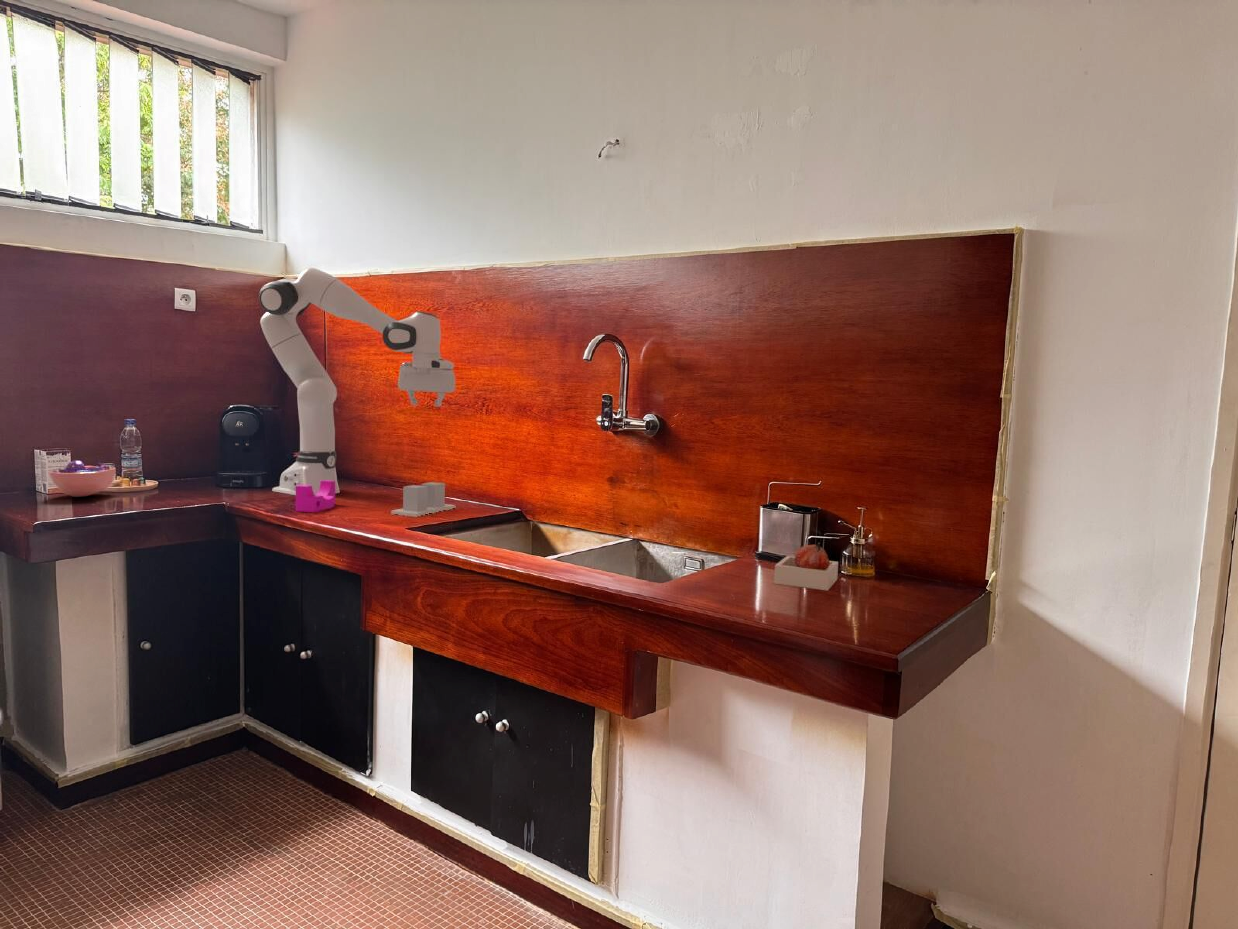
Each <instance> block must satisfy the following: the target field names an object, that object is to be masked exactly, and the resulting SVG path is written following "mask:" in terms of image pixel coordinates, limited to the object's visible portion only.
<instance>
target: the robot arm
mask: <svg viewBox="0 0 1238 929" xmlns="http://www.w3.org/2000/svg"><path fill="white" fill-rule="evenodd" d="M258 302H259V304H260V306H261V308H262V309H263V310H264V311H265V313H264V314H263V315H262V316H261V317H260V321H259V322H260V327H261V329H262V333H263V335H264V338H265V339H266V341H267V343H268V345H269V347H270V349H271V351H272V353H273V354H274V355H275V357H276V359H277V361H278V362H279V364H280V366H281V368H282V369H283V371H284V372H285V373H286V374H287V376H288V377H289V378H290V380H291V381H292V383H293V384H294V386H295V387H296V388H297V392H296V394H297V395H296V397H297V399H296V400H297V409H298V410H297V411H298V421H299V451H298V452H294V453H293V454H295V455H293V457H296V458H295V462H293V463H292V465H290V466H289V467H288V468H287V469H285V470H284V471H282V473H281V475H280V478H279V486H275V487H272V490H271V491H272V492H276V493H281V494H287V495H291V496H296V486H298V485H308V486H312V489H313V493H314V495H316V494H317V493H318V491H319V488H320V484H321V481H324V480H326V481H335V494H338V493H341V490H340V487H339V483H338V479H337V478H338V476H337V470H336V462H337V451H336V441H335V440H336V437H335V436H336V430H335V429H336V427H335V417H334V402H336V399H337V396H338V392H337V391H338V390H337V387H336V386H335V384H334V381H332V379H331V377H330V376H329V374H328V372H327V371H326V369H325V368H324V366H323V365H322V363H321V362H320V361H319V358H318V357H317V355H316V354H315V353H314V351H313V350H312V348H311V346H310V344H309V342H308V341H307V338H305V336H304V334H303V332H302V331H301V329H300V327H299V325H298V323H297V320H296V319H297V318H296V317H299V316H301V315H302V314H303V313H304V312H305V311H306V309H308V308H309V307H310V306H311V304H312V305H314V306H316V307H318V308H319V309H321V310H322V311H324V312H326V313H328V314H330V315H332V316H335V317H338V318H340V319H344V320H349V321H354V322H359V323H361V324H364V325H367V326H369V327H370V328H372V329H374V330H375V331H378V332H379V333H381V334H382V335H381V336H382V340H383V343H384V345H385V346H386V347H387V348H388V349H389V350H391V351H394V352H400V353H403V354H408V355H409V354H412V362H411V361H410V362H408V361H404V362H403V363H401V365H400V366H399V375H398V381H397V382H398V383H397V387H398V389H399V391H407V395H408V398H409V399H410V405H412V406H418V401H419V400H418V399H417V398H416V397H415V394H416V392H431V393H437V396H438V397H437V399H436V400H434V406H435V407H442V405H443V404H442V401H443V400H444V398H445V396H446V393H453V392H455V390H456V375H455V372H454V370H453V369H454V367H455V363H454V362H452V361H450V360H448V359H445V358H443V357H441V355H442V354H441V348H440V345H441V342H442V339H441V338H442V336H441V335H442V334H441V324H440V323H441V321H440V318H439V317H438V316H437V315H436V314H433V313H429V312H426V311H416V312H414V313H413V314H412V315H409V316H408V317H406V318H403V319H400V320H397V319H395V318H394V317H393V316H390V315H389V314H387V313H385V312H383V311H382V310H380V309H378V308H377V307H375V306H374V305H372V304H371V303H370V302H368V301H367V300H366V299H365V298H364V297H363V296H361V295H360V294H359V293H358V292H357V291H356V290H354V289H353V288H352V287H350V286H349V285H348V284H346V283H345V282H343V281H342V280H340V279H339V278H337V277H335V276H333V275H332V274H329V273H327V272H325V271H323V270H320V269H317V268H315V267H308V268H306V269H304V270H303V271H301V273H300V274H299V275H298V277H292V278H291V277H290V278H289V277H288V278H282V279H281V278H280V279H279V280H276V281H275V280H274V281H270V282H268V283H267V284H264V285H263V286H262V287H261V289H260V290H259V292H258Z"/></svg>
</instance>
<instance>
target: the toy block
mask: <svg viewBox="0 0 1238 929" xmlns="http://www.w3.org/2000/svg"><path fill="white" fill-rule="evenodd" d="M334 504H335V505H336V493H335V481H326V480H324V481H321V484H320V488H319V491H318V493H317V494H316V495H314V493H313V489H312V486H308V485H298V486H296V495H295V512H303V513H304V512H305V513H317V512H321V510H322V511H325V510H329V509H333V508H335V505H334ZM332 507H333V508H332Z"/></svg>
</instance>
